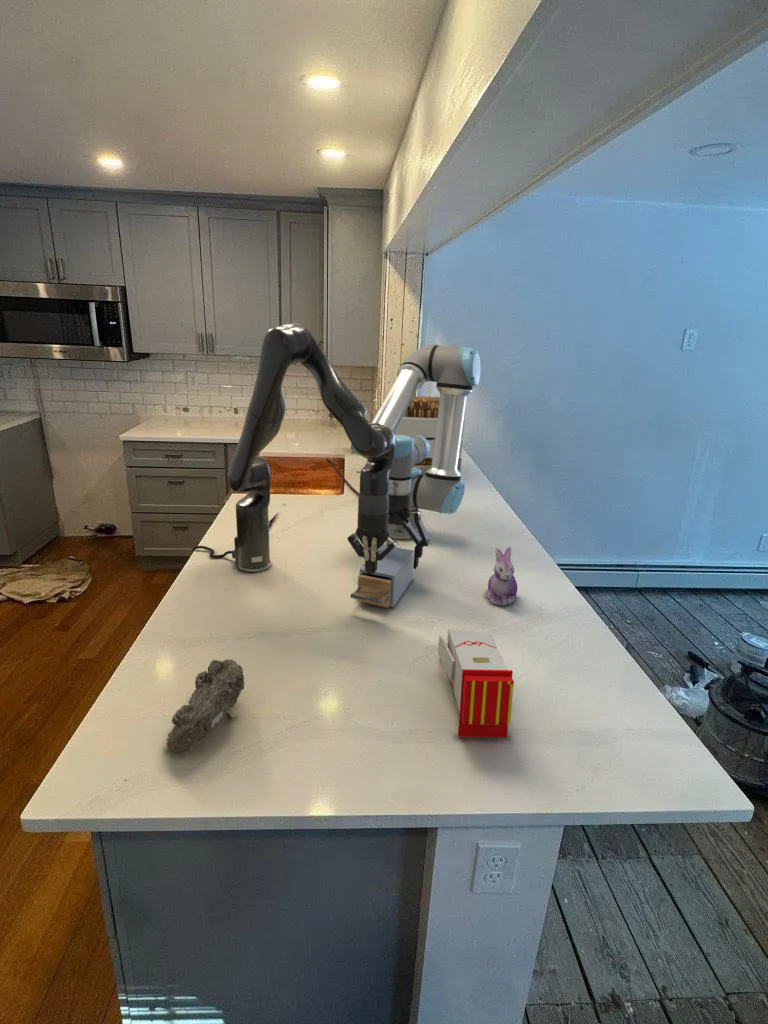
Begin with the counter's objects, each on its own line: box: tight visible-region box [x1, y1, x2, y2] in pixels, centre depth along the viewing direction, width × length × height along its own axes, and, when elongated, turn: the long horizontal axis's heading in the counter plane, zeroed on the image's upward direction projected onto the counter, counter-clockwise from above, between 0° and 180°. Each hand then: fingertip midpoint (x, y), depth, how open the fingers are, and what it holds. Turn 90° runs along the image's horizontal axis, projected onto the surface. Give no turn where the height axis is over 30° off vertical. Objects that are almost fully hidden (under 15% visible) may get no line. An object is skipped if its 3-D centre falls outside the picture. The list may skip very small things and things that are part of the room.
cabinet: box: [358, 544, 414, 608], centre depth 158 cm, size 18×10×9 cm, turn 161°
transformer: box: [394, 395, 465, 475], centre depth 268 cm, size 34×33×41 cm
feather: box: [269, 512, 279, 528], centre depth 210 cm, size 2×28×2 cm
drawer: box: [350, 573, 391, 609], centre depth 154 cm, size 22×9×8 cm, turn 161°
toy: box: [437, 628, 515, 738], centre depth 117 cm, size 12×13×30 cm
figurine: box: [486, 546, 518, 606], centre depth 155 cm, size 9×10×15 cm
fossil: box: [166, 658, 245, 754], centre depth 106 cm, size 22×10×15 cm
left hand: (370, 572), depth 144 cm, fingers closed
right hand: (392, 562), depth 163 cm, fingers open, 13 cm apart
